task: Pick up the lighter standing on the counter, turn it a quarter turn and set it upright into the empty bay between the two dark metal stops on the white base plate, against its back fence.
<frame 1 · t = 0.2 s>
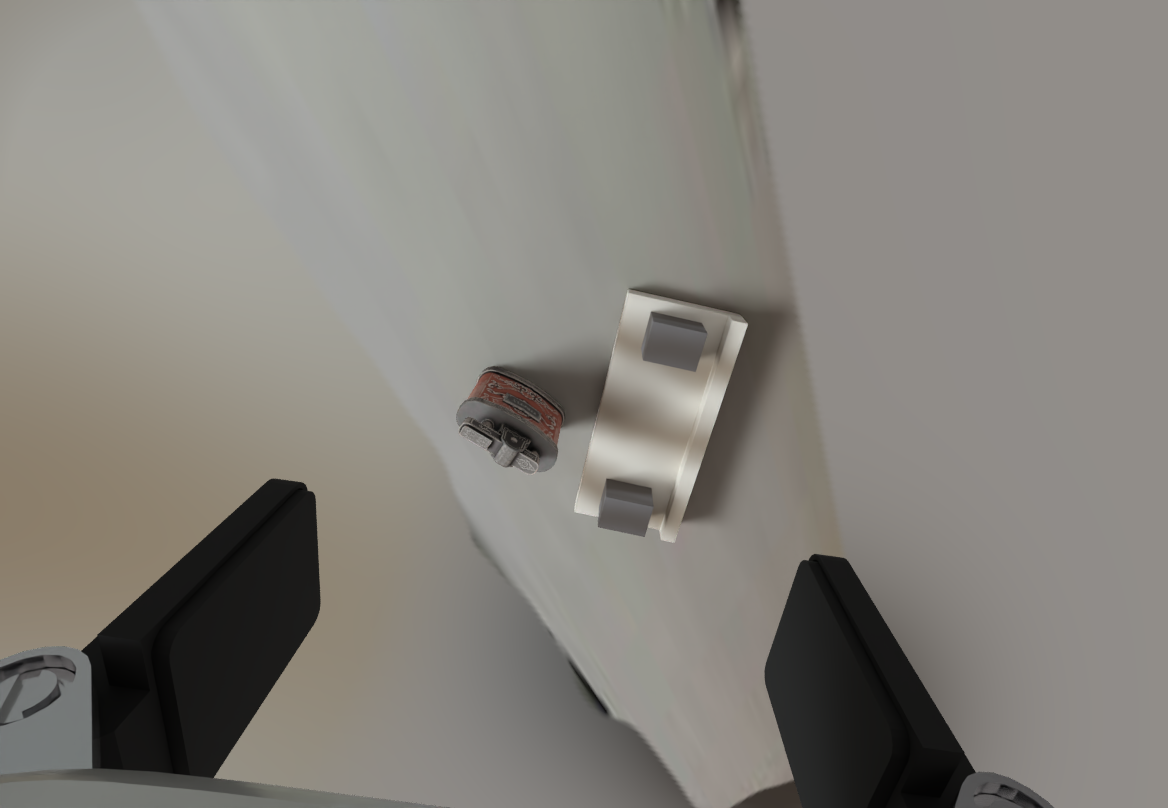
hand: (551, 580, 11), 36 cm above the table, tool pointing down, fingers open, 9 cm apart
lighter: (522, 397, 49), on the table
white base plate: (651, 415, 49), on the table
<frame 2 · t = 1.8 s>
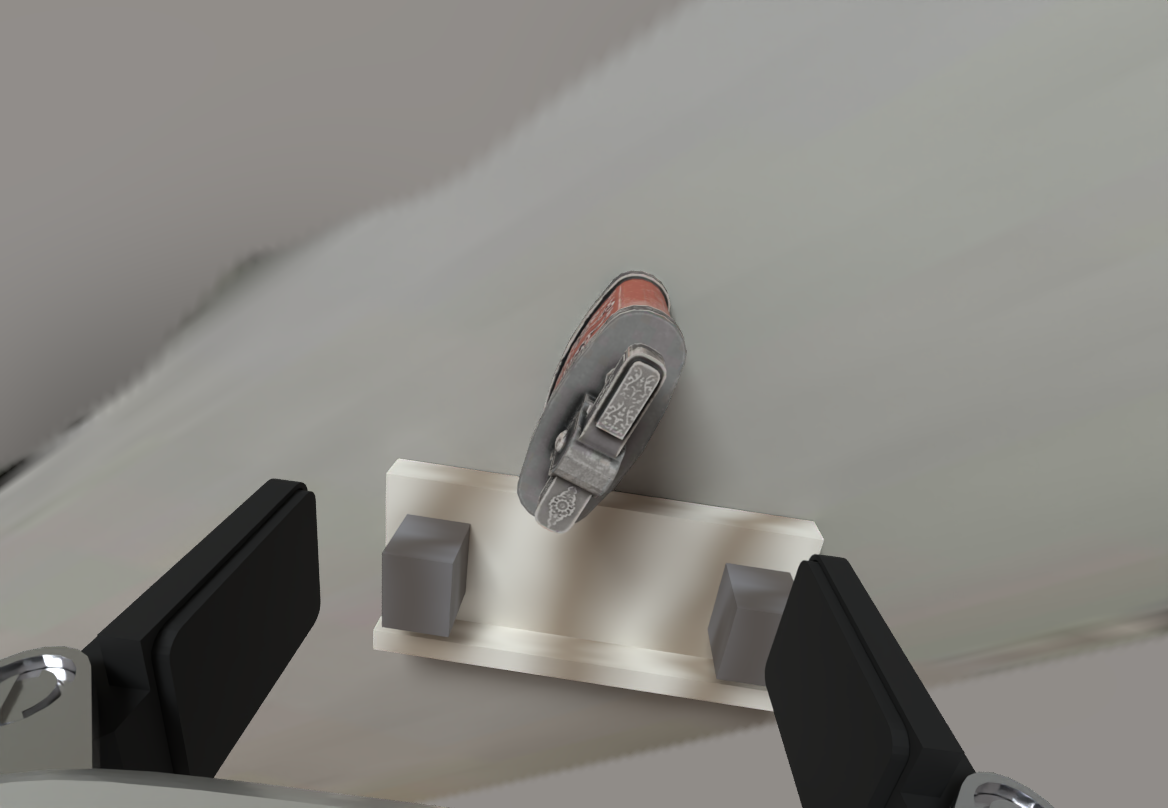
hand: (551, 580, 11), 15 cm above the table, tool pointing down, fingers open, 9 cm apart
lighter: (604, 355, 25), on the table
white base plate: (592, 566, 29), on the table
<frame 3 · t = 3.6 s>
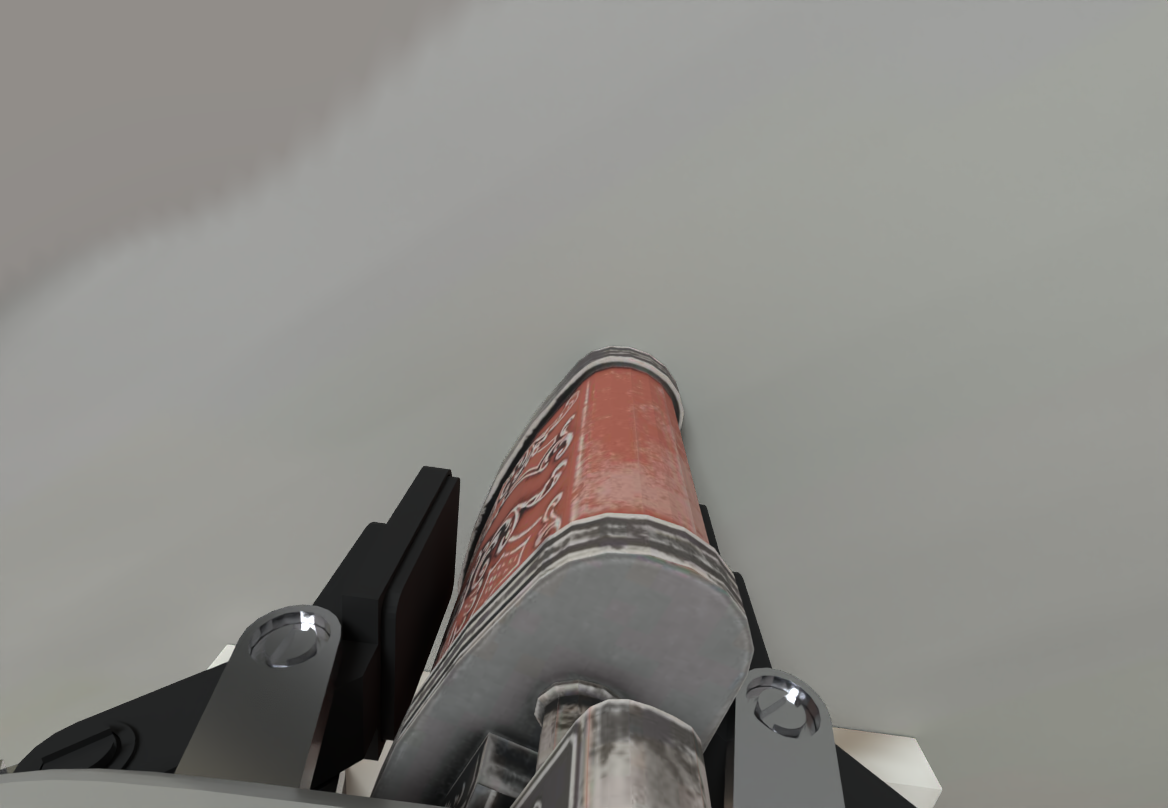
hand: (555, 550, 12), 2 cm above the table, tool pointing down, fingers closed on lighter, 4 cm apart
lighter: (565, 487, 14), on the table, touching gripper
white base plate: (555, 795, 18), on the table
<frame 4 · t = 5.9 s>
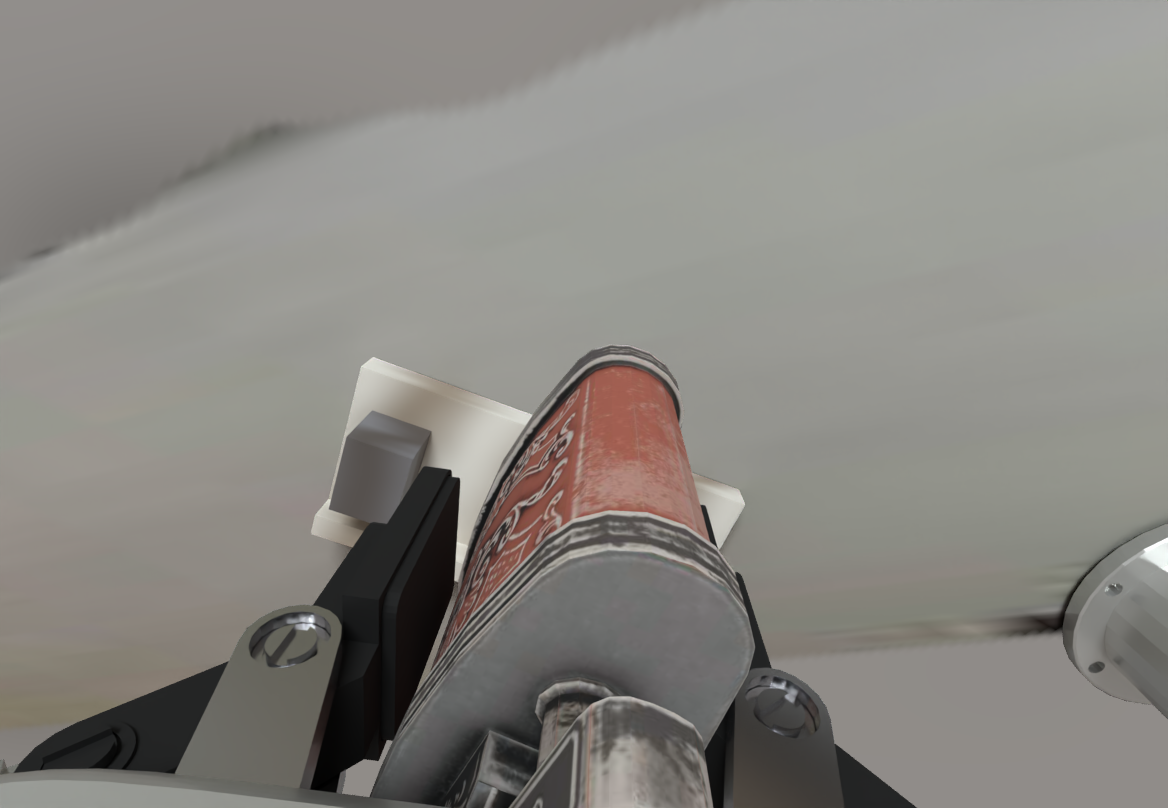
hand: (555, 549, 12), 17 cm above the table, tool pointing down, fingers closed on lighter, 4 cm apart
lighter: (565, 486, 14), point 14 cm above the table, touching gripper
white base plate: (533, 496, 31), on the table
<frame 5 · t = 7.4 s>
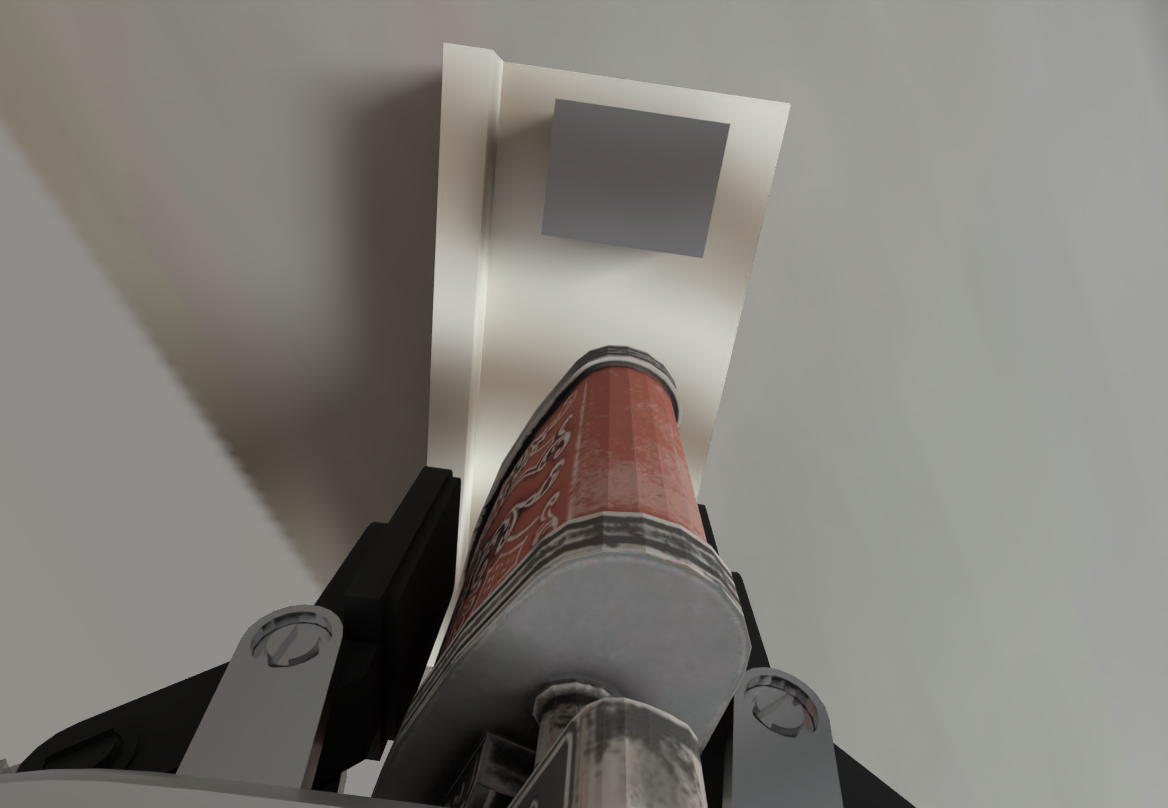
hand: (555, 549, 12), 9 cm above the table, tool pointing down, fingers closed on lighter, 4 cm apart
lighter: (565, 487, 14), point 7 cm above the table, touching gripper
white base plate: (579, 403, 21), on the table
when the fingers open (5 cm above the table, at t = 8.5 s): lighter drops 1 cm, resting on white base plate.
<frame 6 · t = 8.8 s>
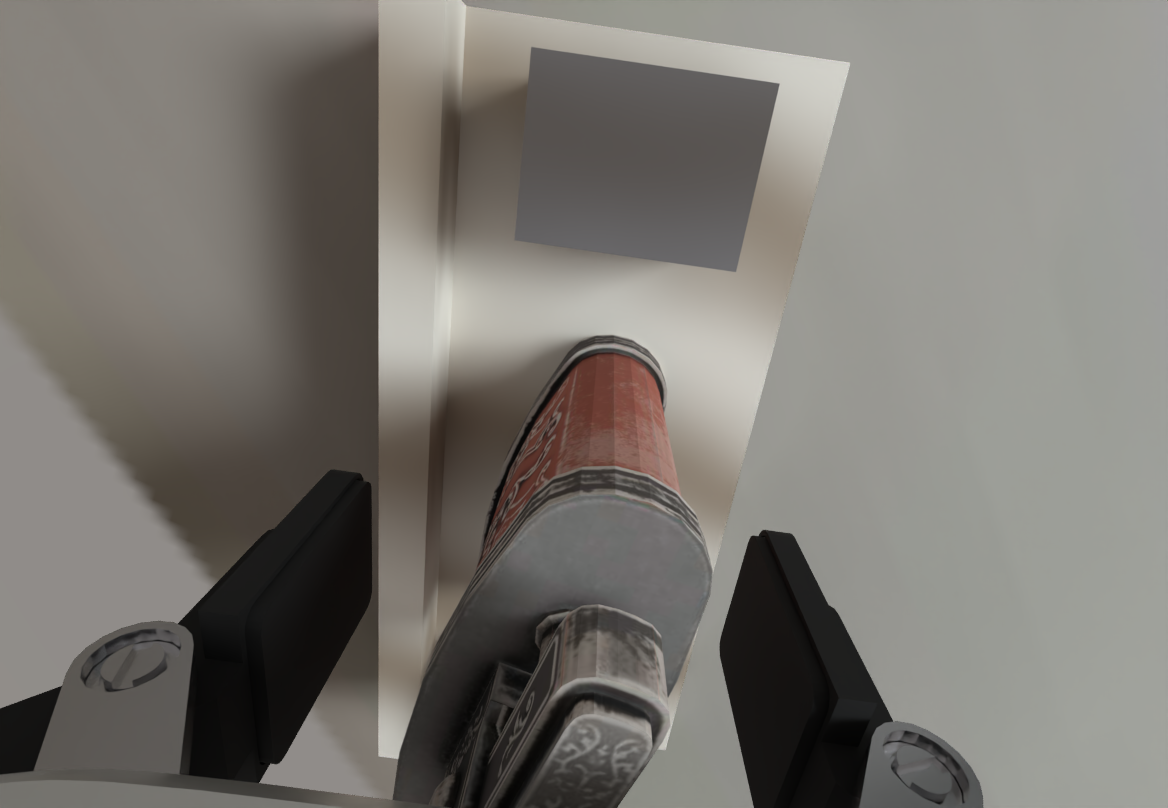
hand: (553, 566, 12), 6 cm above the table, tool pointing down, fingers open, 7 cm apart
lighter: (568, 469, 16), point 1 cm above the table, touching white base plate
white base plate: (571, 442, 17), on the table
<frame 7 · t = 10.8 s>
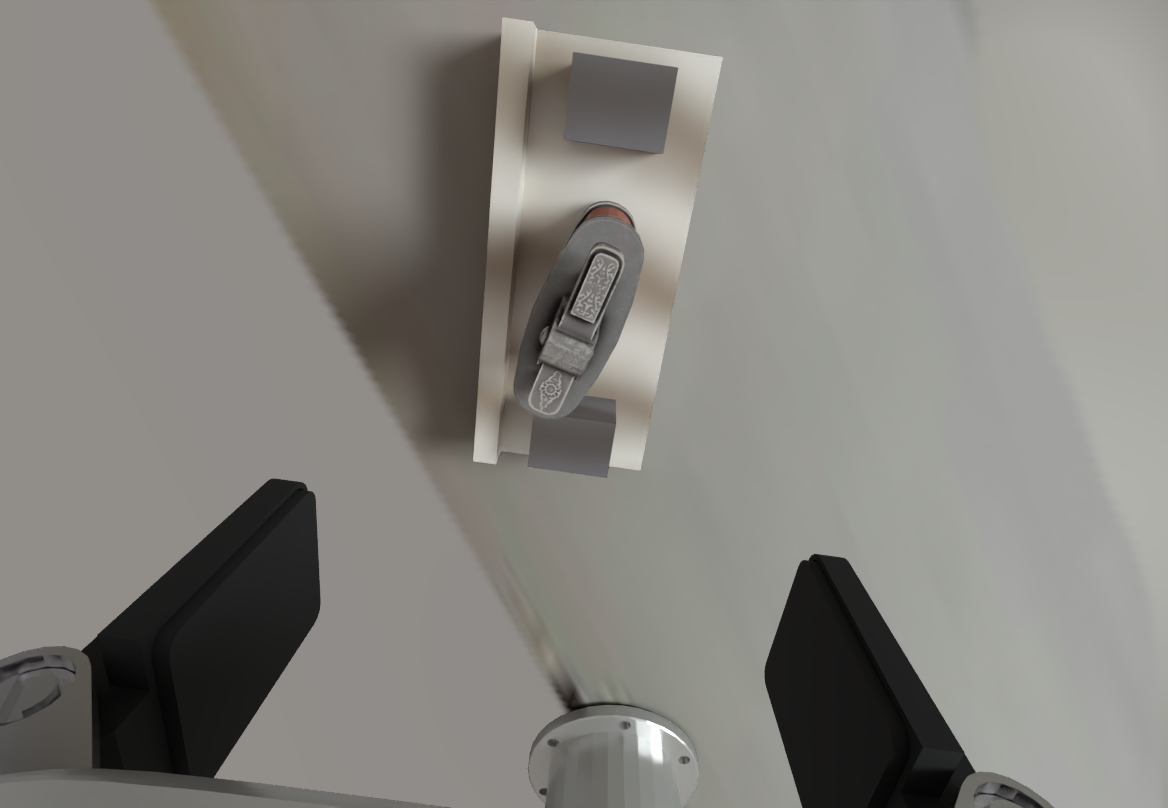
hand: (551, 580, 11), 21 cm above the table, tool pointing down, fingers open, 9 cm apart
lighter: (584, 282, 28), point 1 cm above the table, touching white base plate
white base plate: (585, 273, 29), on the table
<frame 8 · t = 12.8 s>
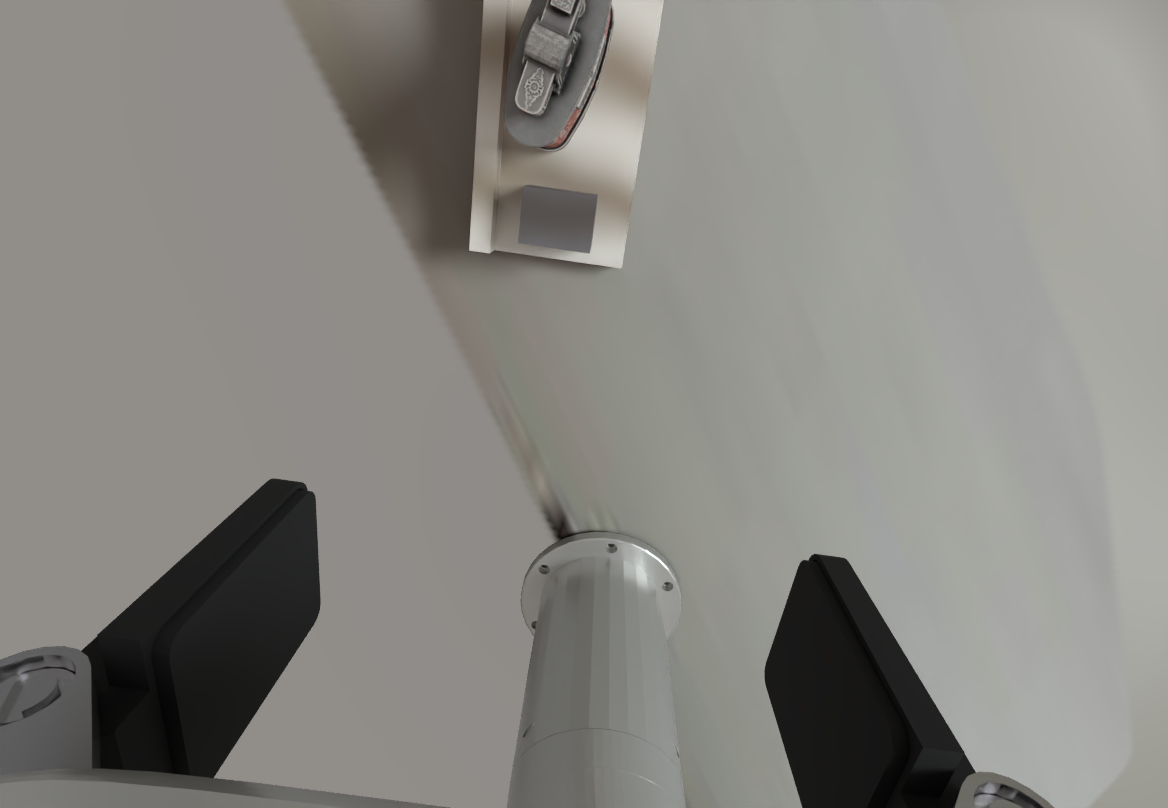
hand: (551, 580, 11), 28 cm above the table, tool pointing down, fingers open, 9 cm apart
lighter: (568, 75, 32), point 1 cm above the table, touching white base plate
white base plate: (570, 75, 33), on the table
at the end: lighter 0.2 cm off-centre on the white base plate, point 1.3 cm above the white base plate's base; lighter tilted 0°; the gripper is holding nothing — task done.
